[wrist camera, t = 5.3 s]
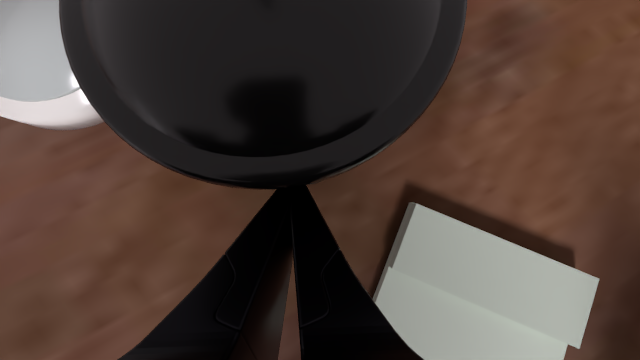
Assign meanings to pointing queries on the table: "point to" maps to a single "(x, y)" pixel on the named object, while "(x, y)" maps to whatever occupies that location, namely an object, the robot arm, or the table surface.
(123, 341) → the table surface
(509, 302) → the napkin
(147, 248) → the table surface
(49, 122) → the bowl
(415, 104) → the drinking cup
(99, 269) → the table surface
